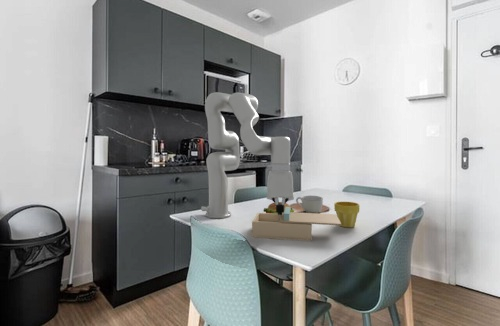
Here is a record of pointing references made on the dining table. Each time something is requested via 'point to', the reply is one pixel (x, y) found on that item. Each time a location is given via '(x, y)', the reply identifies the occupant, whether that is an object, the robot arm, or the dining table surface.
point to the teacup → (311, 203)
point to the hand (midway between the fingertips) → (280, 214)
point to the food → (272, 208)
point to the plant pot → (347, 213)
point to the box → (279, 228)
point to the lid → (309, 218)
